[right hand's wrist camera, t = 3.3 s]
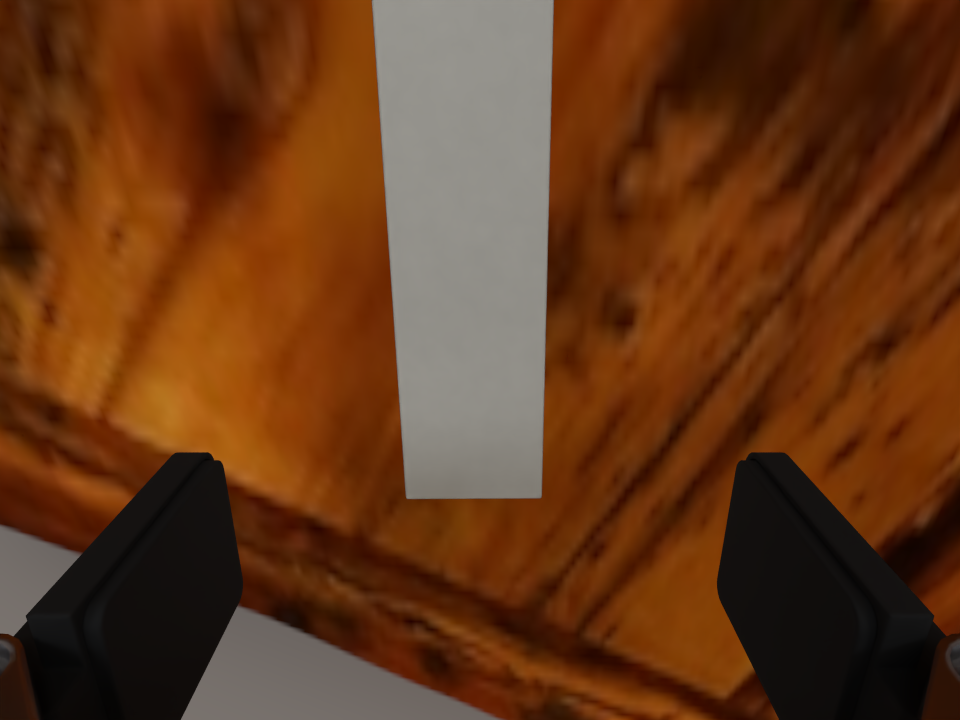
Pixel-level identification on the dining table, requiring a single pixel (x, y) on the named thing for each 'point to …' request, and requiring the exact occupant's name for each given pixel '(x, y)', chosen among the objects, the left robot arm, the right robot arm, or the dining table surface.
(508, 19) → the bar
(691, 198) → the dining table surface
